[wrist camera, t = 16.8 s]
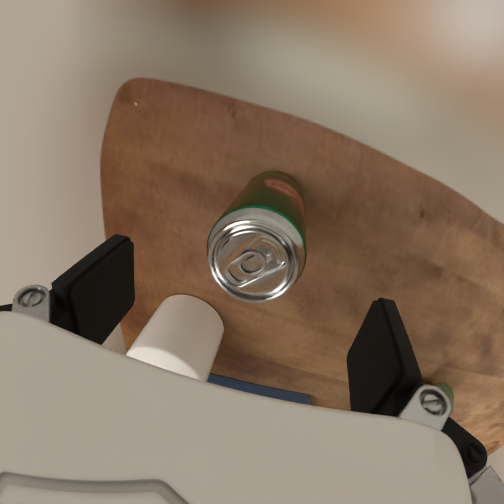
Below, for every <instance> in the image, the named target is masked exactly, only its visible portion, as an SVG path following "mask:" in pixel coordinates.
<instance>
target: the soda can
mask: <svg viewBox="0 0 504 504" xmlns="http://www.w3.org/2000/svg"><path fill="white" fill-rule="evenodd" d="M306 256H307V252H306V227H305V207H304V196H303V192H302V190H301V188H300V186H299V185H298V183H297V182H296V181H295V180H294V179H293V178H291V177H290V176H288V175H287V174H284V173H281V172H276V171H269V172H264V173H261V174H259V175H257V176H255V177H254V178H253V179H251V180H250V181H249V183H248V184H247V185H246V186H245V187H244V189H243V190H242V191H241V192H240V194H239V195H238V196H237V197H236V198H235V200H234V201H233V202H232V203H231V205H230V206H229V207H228V208H227V209H226V211H225V212H224V213H223V214H222V216H221V217H220V218H219V219H218V221H217V222H216V223H215V225H214V226H213V228H212V230H211V232H210V234H209V237H208V240H207V257H208V264H209V268H210V272H211V274H212V276H213V278H214V280H215V281H216V283H217V284H218V285H219V286H220V287H221V288H222V289H223V290H224V291H225V292H226V293H228V294H229V295H231V296H233V297H235V298H237V299H239V300H242V301H247V302H254V303H256V302H266V301H270V300H273V299H276V298H278V297H280V296H281V295H283V294H284V293H285V292H286V291H287V290H288V289H289V288H290V287H291V286H292V285H293V284H294V283H295V282H296V281H297V280H298V279H299V277H300V276H301V274H302V272H303V270H304V267H305V263H306Z"/></svg>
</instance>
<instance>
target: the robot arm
mask: <svg viewBox="0 0 504 504" xmlns="http://www.w3.org/2000/svg"><path fill="white" fill-rule="evenodd" d="M134 301H135V289H134V244H133V242H131V240H130V238H129V237H126V236H122V235H118V234H115V235H113V236H112V237H111V238H109V239H108V240H106V241H105V242H104V243H102V244H101V245H100V246H98V247H97V248H96V249H94V250H93V251H92V252H90V253H89V254H88V255H86V256H85V257H84V258H82V259H81V260H80V261H79V262H77V263H76V264H75V265H73V266H72V267H71V268H70V269H68V270H67V271H66V272H65V273H63V274H62V275H61V276H59V277H58V278H57V279H56V280H54V281H53V282H52V289H51V290H50V291H48V289H47V288H46V287H44V286H41V285H30V286H27V287H24V288H22V289H21V290H19V291H18V292H17V293H16V294H15V297H14V299H13V304H8V305H2V306H0V504H504V484H503V482H502V481H501V479H500V478H499V476H498V475H497V474H496V472H495V471H494V469H493V468H492V467H491V465H490V466H489V467H486V462H487V452H486V449H485V447H484V446H483V444H482V443H481V442H480V441H479V440H477V439H476V438H475V437H474V436H472V435H471V434H470V433H469V432H467V431H466V430H465V429H464V428H462V427H461V426H460V425H459V424H457V423H456V422H455V421H454V420H452V419H451V418H450V417H449V414H450V411H451V403H450V400H449V398H448V397H447V395H446V394H445V393H444V392H443V391H442V390H441V389H439V388H437V387H435V386H431V385H424V386H423V383H422V380H421V379H422V376H421V373H420V370H419V367H418V363H417V361H416V358H415V355H414V352H413V349H412V346H411V343H410V340H409V338H408V335H407V332H406V329H405V327H404V324H403V322H402V319H401V316H400V314H399V311H398V309H397V306H396V304H395V302H394V301H393V300H389V299H385V298H379V299H378V300H377V301H376V300H374V301H373V302H372V304H371V307H370V309H369V311H368V313H367V315H366V317H365V319H364V322H363V324H362V326H361V328H360V330H359V332H358V334H357V336H356V338H355V340H354V342H353V344H352V346H351V348H350V350H349V352H348V355H347V369H348V379H349V391H350V403H351V411H345V410H337V409H331V408H324V407H318V406H312V405H306V404H300V403H295V402H289V401H284V400H279V399H274V398H270V397H265V396H261V395H256V394H252V393H248V392H243V391H239V390H235V389H231V388H227V387H224V386H220V385H216V384H212V383H209V382H205V381H202V380H198V379H195V378H192V377H188V376H185V375H182V374H179V373H176V372H173V371H169V370H166V369H163V368H160V367H158V366H155V365H152V364H149V363H146V362H143V361H140V360H138V359H135V358H132V357H130V356H127V355H124V354H122V353H119V352H117V351H114V350H112V349H109V348H107V347H104V346H102V344H103V342H104V341H105V340H106V338H107V337H108V336H109V335H110V333H111V332H112V331H113V330H114V328H115V327H116V326H117V325H118V323H119V322H120V321H121V320H122V318H123V317H124V316H125V315H126V314H127V312H128V311H129V310H130V309H131V307H132V306H133V304H134Z"/></svg>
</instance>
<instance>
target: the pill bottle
mask: <svg viewBox="0 0 504 504" xmlns="http://www.w3.org/2000/svg"><path fill="white" fill-rule="evenodd" d="M223 334H224V326H223V322H222V320H221V318H220V316H219V315H218V313H217V312H216V311H215V310H214V309H213V308H212V307H211V306H210V305H209V304H207V303H206V302H205V301H203V300H201V299H199V298H196V297H193V296H189V295H174V296H170V297H168V298H166V299H165V300H164V301H162V303H161V304H160V305H159V307H158V308H157V310H156V311H155V313H154V314H153V315H152V317H151V318H150V320H149V321H148V323H147V324H146V326H145V327H144V328H143V330H142V331H141V333H140V334H139V336H138V337H137V339H136V340H135V342H134V343H133V345H132V346H131V348H130V349H129V350H128V352H127V353H126V355H127V356H130V357H132V358H135V359H138V360H140V361H143V362H146V363H149V364H152V365H155V366H158V367H160V368H163V369H166V370H169V371H173V372H176V373H179V374H182V375H185V376H188V377H192V378H195V379H198V380H202V381H205V382H207V380H208V377H209V374H210V371H211V368H212V366H213V363H214V360H215V357H216V355H217V352H218V349H219V346H220V343H221V341H222V338H223Z"/></svg>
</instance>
